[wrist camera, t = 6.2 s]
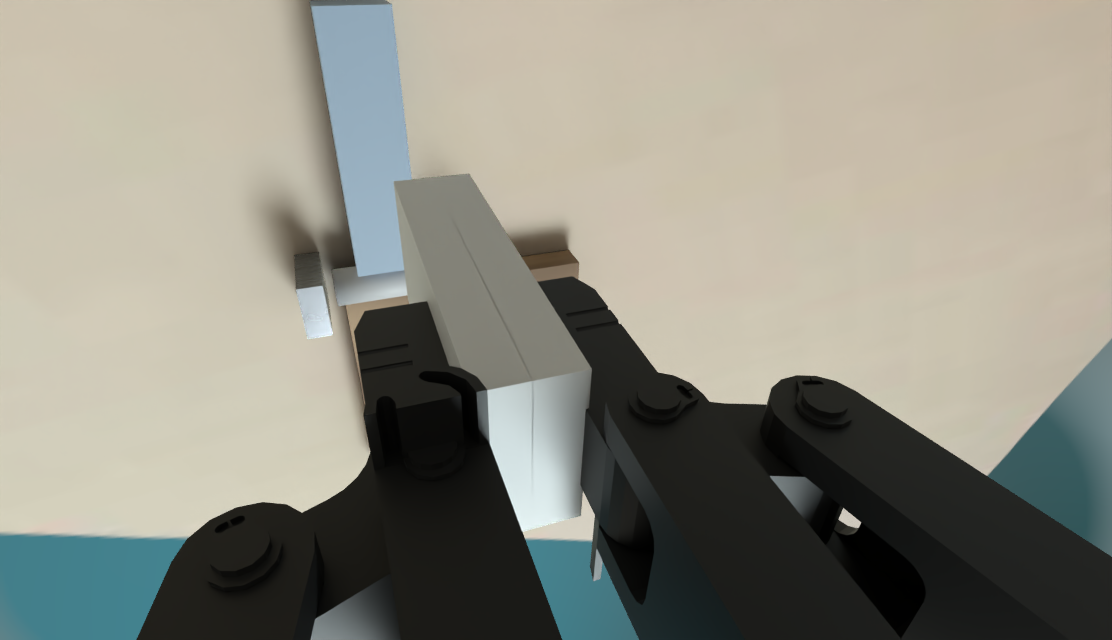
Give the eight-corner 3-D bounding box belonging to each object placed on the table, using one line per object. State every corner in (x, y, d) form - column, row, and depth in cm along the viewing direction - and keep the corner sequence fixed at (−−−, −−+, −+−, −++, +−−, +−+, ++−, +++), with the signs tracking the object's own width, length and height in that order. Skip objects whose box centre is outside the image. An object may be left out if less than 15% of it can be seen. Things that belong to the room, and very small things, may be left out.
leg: (437, 275, 30) (448, 300, 28) (336, 290, 29) (340, 318, 27) (409, -3, 24) (421, 3, 22) (279, 0, 23) (279, 6, 21)
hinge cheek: (294, 255, 27) (295, 289, 25) (318, 252, 28) (322, 285, 25) (305, 302, 29) (307, 339, 26) (328, 299, 29) (333, 334, 27)
